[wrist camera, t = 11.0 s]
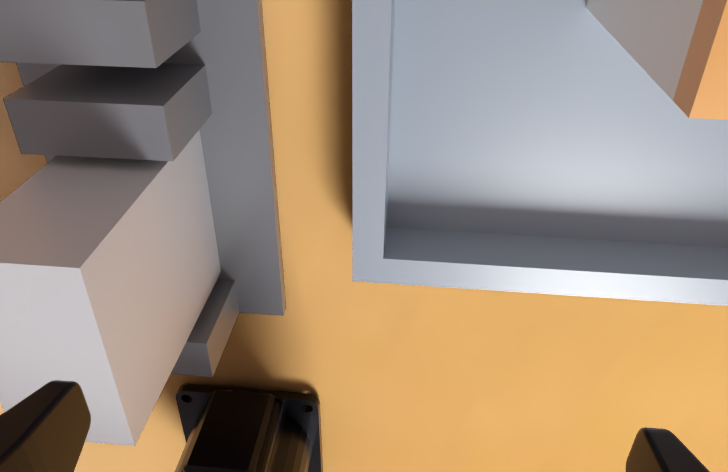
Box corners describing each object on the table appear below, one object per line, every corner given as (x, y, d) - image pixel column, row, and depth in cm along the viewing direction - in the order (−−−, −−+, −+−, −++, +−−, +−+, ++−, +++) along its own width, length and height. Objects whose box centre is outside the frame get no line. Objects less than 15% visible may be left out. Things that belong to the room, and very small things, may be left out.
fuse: (220, 271, 23) (134, 446, 16) (134, 265, 23) (15, 435, 17) (198, 124, 20) (79, 268, 13) (98, 120, 20) (-68, 258, 13)
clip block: (286, 307, 24) (262, 381, 21) (95, 294, 25) (44, 364, 22) (224, -450, 13) (152, -552, 10) (-125, -441, 13) (-308, -533, 10)
